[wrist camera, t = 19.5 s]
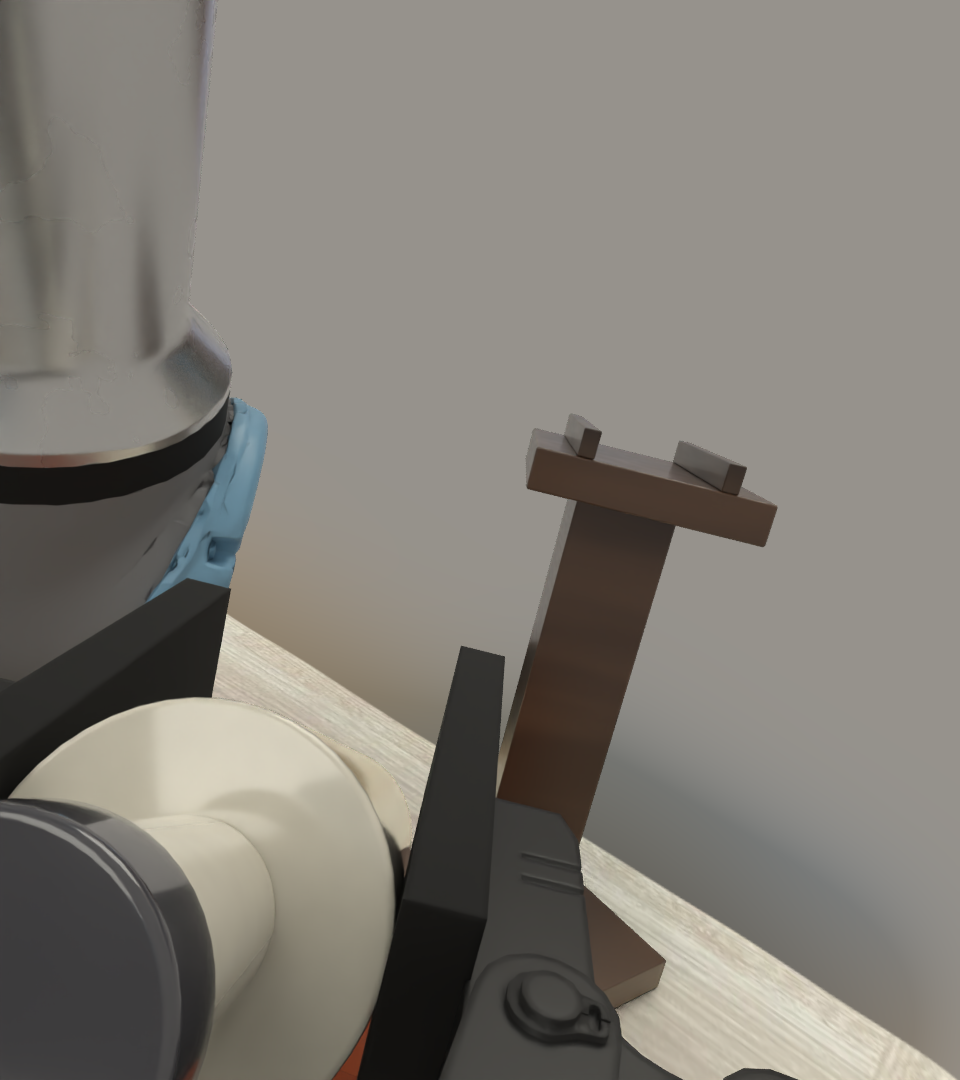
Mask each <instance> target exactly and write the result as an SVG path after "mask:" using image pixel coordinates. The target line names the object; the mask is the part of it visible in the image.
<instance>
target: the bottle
mask: <svg viewBox="0 0 960 1080" xmlns="http://www.w3.org/2000/svg"><path fill="white" fill-rule="evenodd" d="M411 839H412V826H411V817H410V812H409V808H408V805H407V802H406V799H405V796H404V794H403V792H402V790H401V788H400V787H399V785H398V784H397V782H396V781H395V779H394V778H393V777H392V775H391V774H390V773H389V772H388V771H387V770H386V769H385V768H384V767H383V766H382V765H380V764H379V763H378V762H376V761H375V760H373V759H372V758H370V757H368V756H366V755H364V754H362V753H360V752H358V751H356V750H354V749H352V748H350V747H348V746H345V745H343V744H341V743H339V742H337V741H335V740H333V739H331V738H329V737H327V736H325V735H322V734H320V733H318V732H316V731H314V730H312V729H310V728H308V727H306V726H304V725H302V724H299V723H297V722H295V721H293V720H291V719H289V718H287V717H285V716H282V715H280V714H278V713H276V712H274V711H272V710H269V709H266V708H263V707H260V706H256V705H253V704H250V703H247V702H242V701H236V700H230V699H224V698H209V697H188V698H177V699H167V700H162V701H158V702H153V703H149V704H144V705H140V706H137V707H134V708H131V709H128V710H126V711H123V712H120V713H117V714H114V715H112V716H110V717H108V718H106V719H104V720H102V721H100V722H98V723H96V724H94V725H92V726H90V727H88V728H86V729H84V730H83V731H81V732H80V733H78V734H77V735H75V736H74V737H72V738H71V739H69V740H68V741H66V742H65V743H63V744H62V745H60V746H59V747H58V748H57V749H56V750H54V751H53V752H52V753H51V754H50V755H48V756H47V757H46V758H45V759H43V760H42V761H41V762H40V763H39V764H38V765H37V766H36V767H35V768H34V769H33V770H32V771H31V772H30V773H29V774H28V775H27V776H26V777H25V778H24V779H23V780H22V781H21V782H20V783H19V784H18V785H17V787H16V788H15V789H14V791H13V792H12V793H11V795H10V796H9V797H8V798H6V799H0V1080H333V1078H334V1077H335V1076H336V1074H337V1073H338V1072H339V1070H340V1069H341V1068H342V1066H343V1065H344V1064H345V1062H346V1061H347V1060H348V1058H349V1057H350V1055H351V1054H352V1052H353V1050H354V1049H355V1047H356V1045H357V1043H358V1042H359V1040H360V1038H361V1037H362V1035H363V1033H364V1031H365V1030H366V1028H367V1026H368V1024H369V1021H370V1019H371V1017H372V1014H373V1012H374V1010H375V1007H376V1003H377V999H378V995H379V991H380V987H381V983H382V979H383V975H384V971H385V967H386V962H387V958H388V954H389V950H390V946H391V942H392V938H393V934H394V930H395V925H396V920H397V914H398V909H399V904H400V898H401V893H402V888H403V883H404V878H405V873H406V869H407V865H408V859H409V853H410V848H411Z"/></svg>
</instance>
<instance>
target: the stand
mask: <svg viewBox="0 0 960 1080" xmlns="http://www.w3.org/2000/svg"><path fill="white" fill-rule="evenodd" d="M601 434H602V432H601V431H600V430H599V429H598V428H596V427H595V426H593V425H592V424H591V423H590V422H588V421H587V420H586V419H585V418H583V417H582V416H579V415H575V414H570V415H569V419H568V422H567V426H566V430H565V435H561V434H556V433H552V432H548V431H544V430H540V429H534V430H533V432H532V437H531V440H530V445H529V448H528V452H527V456H526V483H527V484H526V486H527V489H530V490H534V491H538V492H542V493H546V494H550V495H554V496H558V497H562V498H567V499H568V500H567V504H566V507H565V511H564V514H563V518H562V522H561V526H560V530H559V533H558V537H557V541H556V544H555V548H554V552H553V555H552V559H551V563H550V566H549V570H548V574H547V578H546V582H545V585H544V589H543V593H542V596H541V600H540V604H539V607H538V611H537V615H536V619H535V623H534V626H533V630H532V633H531V637H530V641H529V645H528V648H527V652H526V656H525V659H524V663H523V667H522V670H521V675H520V678H519V682H518V685H517V689H516V693H515V697H514V700H513V704H512V708H511V711H510V715H509V719H508V723H507V726H506V730H505V734H504V738H503V742H502V745H501V749H500V752H499V756H498V768H497V783H496V798H499V799H503V800H507V801H511V802H515V803H519V804H523V805H527V806H531V807H535V808H539V809H543V810H547V811H551V812H555V813H559V814H561V816H562V817H563V819H564V820H565V821H566V823H567V824H568V826H569V827H570V829H571V830H572V832H573V833H574V835H575V836H576V838H577V839H578V842H579V844H580V841H581V838H582V835H583V831H584V828H585V825H586V821H587V818H588V815H589V811H590V808H591V805H592V801H593V798H594V795H595V791H596V788H597V784H598V781H599V778H600V775H601V772H602V768H603V765H604V762H605V758H606V755H607V752H608V748H609V745H610V742H611V738H612V735H613V731H614V728H615V725H616V722H617V718H618V715H619V712H620V709H621V705H622V702H623V698H624V695H625V692H626V689H627V685H628V682H629V679H630V675H631V672H632V669H633V665H634V662H635V659H636V655H637V652H638V649H639V645H640V642H641V639H642V636H643V632H644V629H645V625H646V622H647V619H648V615H649V612H650V609H651V606H652V602H653V599H654V595H655V592H656V589H657V585H658V582H659V579H660V576H661V572H662V569H663V566H664V563H665V559H666V556H667V553H668V549H669V546H670V543H671V539H672V536H673V533H674V529H675V526H679V527H683V528H687V529H691V530H695V531H699V532H703V533H707V534H711V535H716V536H719V537H724V538H728V539H732V540H736V541H740V542H744V543H748V544H752V545H756V546H760V547H764V546H765V545H766V542H767V539H768V535H769V532H770V529H771V526H772V523H773V520H774V517H775V514H776V511H777V506H776V505H775V504H773V503H771V502H769V501H767V500H765V499H764V498H761V497H760V496H757V495H756V494H754V493H752V492H750V491H748V490H746V489H745V488H743V487H741V486H742V482H743V479H744V476H745V473H746V470H747V467H745V466H743V465H741V464H738V463H736V462H734V461H731V460H729V459H726V458H724V457H722V456H720V455H717V454H715V453H713V452H710V451H708V450H706V449H703V448H701V447H698V446H696V445H694V444H691V443H688V442H684V441H679V443H678V447H677V450H676V453H675V457H674V460H673V462H670V461H666V460H661V459H657V458H653V457H649V456H645V455H641V454H637V453H633V452H629V451H625V450H621V449H617V448H613V447H609V446H605V445H601V444H599V441H600V437H601ZM410 852H411V850H410ZM409 856H410V853H409ZM408 861H409V859H408ZM583 896H585V902H586V910H587V919H588V928H589V936H590V945H591V953H592V962H593V970H594V979H595V984H596V985H597V986H598V987H599V988H600V989H601V990H602V991H603V992H604V993H605V994H606V995H607V997H608V999H609V1001H610V1002H611V1004H612V1006H613V1007H614V1008H616V1007H618V1006H620V1005H622V1004H624V1003H626V1002H628V1001H630V1000H632V999H634V998H636V997H638V996H640V995H642V994H644V993H646V992H648V991H650V990H652V989H654V988H656V987H657V986H658V984H659V981H660V978H661V975H662V972H663V969H664V966H665V963H666V960H665V959H664V958H663V957H662V956H661V955H659V954H658V953H657V952H656V951H655V950H654V949H653V948H652V947H651V946H650V945H649V944H647V943H646V942H645V941H644V940H643V939H642V938H641V937H640V936H639V935H638V934H637V933H635V932H634V931H633V930H632V929H631V928H630V927H629V926H628V925H627V924H626V923H625V922H623V921H622V920H621V919H620V918H619V917H618V916H617V915H616V914H615V913H614V912H613V911H611V910H610V909H609V908H608V907H607V906H606V905H605V904H604V903H603V902H602V901H601V900H599V899H598V898H597V897H596V896H595V895H594V894H593V893H592V892H591V891H590V890H589V889H587V888H586V887H585V886H584V893H583Z"/></svg>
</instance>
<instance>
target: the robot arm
mask: <svg viewBox="0 0 960 1080" xmlns="http://www.w3.org/2000/svg"><path fill="white" fill-rule="evenodd" d="M217 1H218V0H0V799H6V798H8V797H9V796H10V795H11V793H12V792H13V791H14V789H15V788H16V787H17V785H18V784H19V783H20V782H21V781H22V780H23V779H24V778H25V777H26V776H27V775H28V774H29V773H30V772H31V771H32V770H33V769H34V768H35V767H36V766H37V765H38V764H39V763H40V762H41V761H42V760H43V759H45V758H46V757H47V756H48V755H50V754H51V753H52V752H53V751H54V750H56V749H57V748H58V747H59V746H60V745H62V744H63V743H65V742H66V741H68V740H69V739H71V738H72V737H74V736H75V735H77V734H78V733H80V732H81V731H83V730H84V729H86V728H88V727H90V726H92V725H94V724H96V723H98V722H100V721H102V720H104V719H106V718H108V717H110V716H112V715H114V714H117V713H120V712H123V711H126V710H128V709H131V708H134V707H137V706H140V705H144V704H149V703H153V702H158V701H162V700H167V699H177V698H188V697H209V698H212V692H213V686H214V681H215V675H216V670H217V664H218V659H219V653H220V647H221V642H222V636H223V631H224V625H225V620H226V614H227V608H228V603H229V597H230V591H231V589H230V588H229V585H230V581H231V578H232V575H233V571H234V566H235V561H236V558H235V554H236V552H237V551H238V550H239V548H240V545H241V541H242V537H243V534H244V531H245V529H246V526H247V523H248V521H249V517H250V513H251V510H252V506H253V501H254V498H255V493H256V490H257V486H258V482H259V477H260V473H261V468H262V464H263V460H264V454H265V449H266V442H267V435H268V425H267V420H266V417H265V416H264V415H263V413H262V412H260V411H259V410H257V409H256V408H253V407H251V406H248V405H247V404H246V403H245V402H243V401H242V399H238V398H229V394H230V388H231V378H232V368H231V360H230V356H229V352H228V348H227V347H226V345H225V343H224V341H223V340H222V338H221V336H220V335H219V333H218V332H217V331H216V330H215V328H214V327H213V326H212V325H211V324H210V322H208V320H207V319H205V317H204V316H203V315H202V314H201V313H200V312H199V311H198V310H197V309H195V308H194V306H193V305H192V304H191V303H190V302H189V299H190V288H191V278H192V267H193V256H194V246H195V235H196V224H197V214H198V203H199V192H200V182H201V171H202V161H203V149H204V139H205V129H206V118H207V107H208V97H209V86H210V76H211V65H212V54H213V43H214V33H215V22H216V11H217ZM504 664H505V657H504V656H500V655H496V654H492V653H488V652H484V651H480V650H476V649H472V648H468V647H464V646H461V648H460V653H459V656H458V661H457V665H456V669H455V672H454V676H453V681H452V685H451V689H450V693H449V697H448V701H447V705H446V709H445V713H444V717H443V721H442V725H441V729H440V733H439V737H438V741H437V745H436V749H435V753H434V757H433V761H432V765H431V769H430V773H429V777H428V781H427V785H426V789H425V793H424V797H423V802H422V806H421V810H420V814H419V818H418V823H417V827H416V831H415V835H414V840H413V844H412V848H411V852H410V856H409V861H408V865H407V869H406V873H405V878H404V883H403V888H402V893H401V898H400V904H399V909H398V914H397V920H396V925H395V930H394V934H393V938H392V942H391V946H390V950H389V954H388V958H387V962H386V967H385V971H384V975H383V979H382V983H381V987H380V991H379V995H378V999H377V1003H376V1007H375V1010H374V1012H373V1014H372V1017H371V1021H370V1025H369V1030H368V1034H367V1038H366V1042H365V1046H364V1051H363V1055H362V1059H361V1063H360V1068H359V1072H358V1076H357V1080H683V1079H681V1078H679V1077H677V1076H675V1075H673V1074H671V1073H669V1072H668V1071H666V1070H664V1069H663V1068H661V1067H659V1066H658V1065H656V1064H655V1063H653V1062H652V1061H650V1060H649V1059H647V1058H645V1057H644V1056H643V1055H641V1054H640V1053H639V1052H638V1051H637V1050H636V1049H635V1048H634V1047H632V1046H631V1045H630V1044H629V1043H628V1042H627V1041H626V1040H625V1039H624V1038H623V1037H622V1035H621V1028H620V1021H619V1016H618V1014H617V1013H616V1011H615V1009H614V1007H613V1006H612V1004H611V1002H610V1001H609V999H608V997H607V995H606V994H605V993H604V992H603V991H602V990H601V989H600V988H599V987H598V986H597V985H596V984H595V979H594V970H593V962H592V953H591V945H590V936H589V928H588V919H587V910H586V902H585V896H583V893H584V885H583V876H582V873H581V859H580V850H579V842H578V839H577V838H576V836H575V835H574V833H573V832H572V830H571V829H570V827H569V826H568V824H567V823H566V821H565V820H564V819H563V817H562V816H561V814H559V813H555V812H551V811H547V810H543V809H539V808H535V807H531V806H527V805H523V804H519V803H515V802H511V801H507V800H503V799H499V798H496V783H497V768H498V754H499V738H500V723H501V709H502V694H503V679H504ZM723 1080H798V1079H795V1078H792V1077H790V1076H787V1075H784V1074H782V1073H779V1072H776V1071H774V1070H771V1069H751V1068H743V1069H741V1070H739V1071H737V1072H735V1073H733V1074H731V1075H729V1076H727V1077H725V1078H724V1079H723Z"/></svg>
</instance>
